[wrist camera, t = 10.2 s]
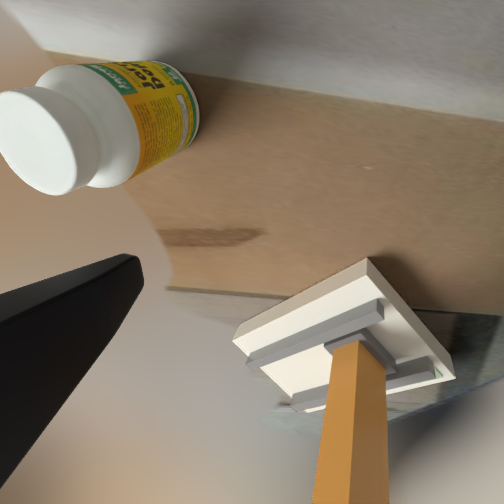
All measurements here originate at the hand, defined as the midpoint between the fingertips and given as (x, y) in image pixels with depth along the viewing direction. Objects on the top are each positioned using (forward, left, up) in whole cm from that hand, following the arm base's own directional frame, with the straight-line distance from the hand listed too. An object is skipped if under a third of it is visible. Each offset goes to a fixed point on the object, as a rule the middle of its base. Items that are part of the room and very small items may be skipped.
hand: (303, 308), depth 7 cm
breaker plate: (+4, +14, -13) cm, 20 cm away
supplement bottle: (+10, -6, -13) cm, 18 cm away
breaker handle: (+2, +13, -11) cm, 17 cm away
